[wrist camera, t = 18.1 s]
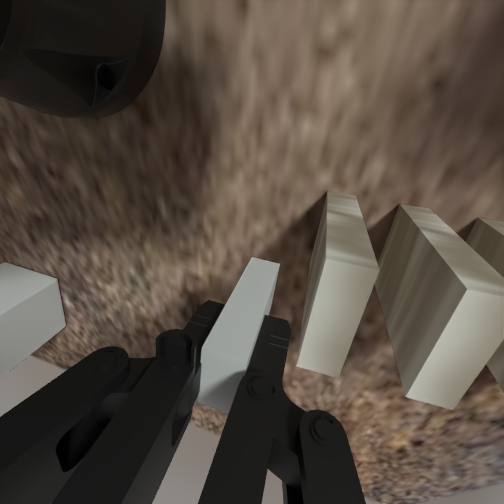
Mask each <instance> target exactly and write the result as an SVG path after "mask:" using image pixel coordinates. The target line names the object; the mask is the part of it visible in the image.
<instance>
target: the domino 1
mask: <svg viewBox="0 0 504 504" xmlns="http://www.w3.org/2000/svg"><path fill="white" fill-rule="evenodd" d="M379 271H380V270H379V267H378V264H377V261H376V258H375V254H374V251H373V248H372V245H371V242H370V239H369V236H368V233H367V230H366V226H365V223H364V220H363V217H362V214H361V211H360V208H359V205H358V202H357V199H356V196H353V195H347V194H341V193H336V192H330V191H327V195H326V199H325V203H324V207H323V212H322V216H321V220H320V224H319V228H318V232H317V236H316V240H315V244H314V248H313V252H312V256H311V260H310V266H309V274H308V282H307V289H306V297H305V305H304V312H303V320H302V328H301V335H300V343H299V351H298V358H297V367H301V368H304V369H308V370H311V371H315V372H318V373H322V374H326V375H329V376H333V377H336V378H338V377H339V375H340V372H341V370H342V367H343V364H344V362H345V359H346V357H347V354H348V351H349V349H350V346H351V344H352V341H353V338H354V336H355V333H356V331H357V328H358V325H359V323H360V320H361V318H362V315H363V312H364V310H365V307H366V305H367V302H368V299H369V297H370V294H371V292H372V289H373V286H374V284H375V281H376V279H377V276H378V273H379Z"/></svg>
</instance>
